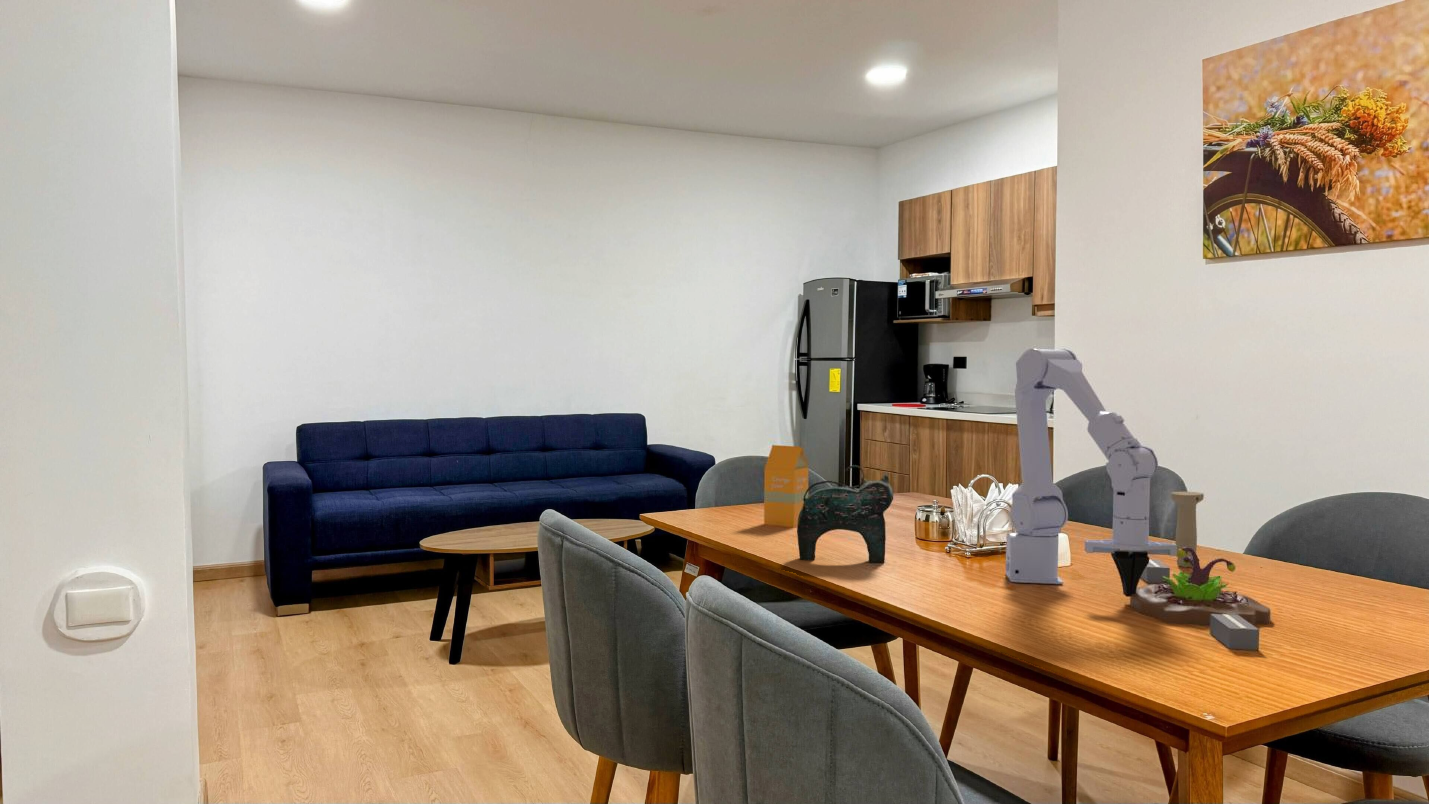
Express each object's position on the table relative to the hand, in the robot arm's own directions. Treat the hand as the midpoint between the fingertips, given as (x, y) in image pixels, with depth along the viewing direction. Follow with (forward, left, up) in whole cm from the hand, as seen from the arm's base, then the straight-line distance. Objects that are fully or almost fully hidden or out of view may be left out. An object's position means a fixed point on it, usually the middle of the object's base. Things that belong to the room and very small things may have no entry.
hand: (1129, 595), depth 164 cm
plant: (+9, -3, -2) cm, 10 cm away
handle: (+19, +34, -2) cm, 39 cm away
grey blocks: (+9, 0, -1) cm, 10 cm away
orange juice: (-66, +70, -2) cm, 96 cm away
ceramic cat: (-50, +27, -2) cm, 56 cm away
